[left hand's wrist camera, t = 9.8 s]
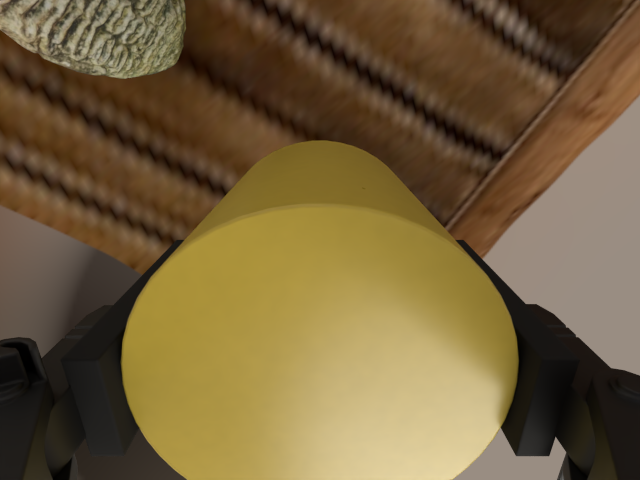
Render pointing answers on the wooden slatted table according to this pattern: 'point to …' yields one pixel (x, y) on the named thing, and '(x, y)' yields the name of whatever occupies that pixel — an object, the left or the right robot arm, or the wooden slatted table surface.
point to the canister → (319, 333)
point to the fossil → (99, 33)
